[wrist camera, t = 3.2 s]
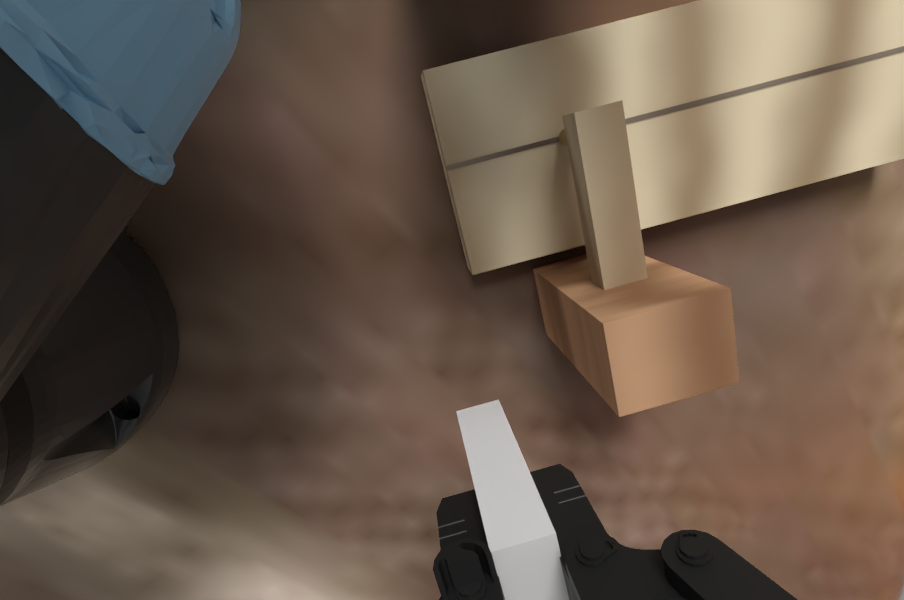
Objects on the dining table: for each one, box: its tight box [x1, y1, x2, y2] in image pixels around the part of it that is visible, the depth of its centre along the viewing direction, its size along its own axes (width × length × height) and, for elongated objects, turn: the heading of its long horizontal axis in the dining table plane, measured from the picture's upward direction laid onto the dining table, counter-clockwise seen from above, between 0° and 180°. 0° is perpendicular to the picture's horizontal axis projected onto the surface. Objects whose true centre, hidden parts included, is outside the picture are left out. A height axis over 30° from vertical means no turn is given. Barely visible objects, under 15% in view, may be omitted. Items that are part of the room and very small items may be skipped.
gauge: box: [533, 100, 740, 417], centre depth 23 cm, size 5×12×10 cm, turn 14°
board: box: [421, 0, 904, 275], centre depth 26 cm, size 24×10×2 cm, turn 104°
